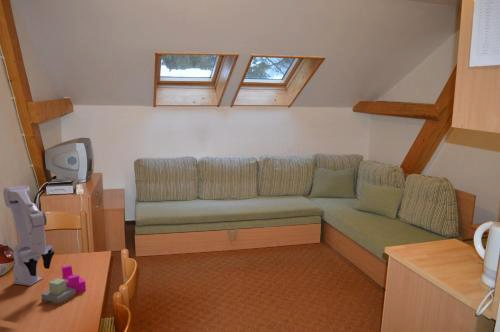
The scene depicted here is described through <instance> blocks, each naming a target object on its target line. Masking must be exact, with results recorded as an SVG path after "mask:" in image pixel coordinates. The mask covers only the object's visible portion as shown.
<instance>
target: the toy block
mask: <svg viewBox="0 0 500 332" xmlns="http://www.w3.org/2000/svg"><path fill="white" fill-rule="evenodd" d="M61 276H62V277H61V279H64V280H66V287H70V288H74V289H75V294H78V293H83V292H86V291H87V289H86V286H87V285H86V280H85V279H84V278H83V277H82V278H81V276H80V275H79V274H77V273H76V274H74V273H73V268H72V265H71V264H69V265H64V266H61Z"/></svg>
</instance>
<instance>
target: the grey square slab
mask: <svg viewBox="0 0 500 332" xmlns="http://www.w3.org/2000/svg"><path fill="white" fill-rule="evenodd" d="M75 296H76V293H75V294H73V295H71V296H70V297H68V298H66V299H64V300H62V301H61V302H59V303H57V302H53V301H49V300H46V299H42V298H41V303H44V304H47V305H49V304H50V305H55V306H61V305H62V304H64V303H66V302H67V301H70V300H71V299H72V298H74V297H75Z"/></svg>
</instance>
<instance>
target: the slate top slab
mask: <svg viewBox="0 0 500 332" xmlns="http://www.w3.org/2000/svg"><path fill="white" fill-rule="evenodd" d="M73 294H75V295H76V293H75V289H74V288H70V287H66V290H65V291H64V292H62V293H60V294H59V295H57V294H53V293H50V291H49V289H48V290H46V291H45V292H42V293H41V299H46V300H49V301H53V302H57V303H59V302H61V301H62V300H64V299H66V298H68V297H70V296H71V295H73Z"/></svg>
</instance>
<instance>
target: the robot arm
mask: <svg viewBox="0 0 500 332" xmlns="http://www.w3.org/2000/svg"><path fill="white" fill-rule="evenodd" d="M2 191H3V192H2V193H3V194H2V195H3V199H4V204H5V207H6V208H9V209H10V210H11V213H12V218H13V223H14V227H15V232H16V235H17V241H18V243H17V244H16V245H15V246H14V247H13V250H12V251H13V252H12V253H13V260H14V263H15V264H14V266H13V279H14V280H13V282H12V283H13V284H16V285H17V284H18V285H22V286H23V285H24V286H29V287H30V286H32V285H34V284H35V283H37V282H40V281H41V280H42V279H43V277H41V276H39V270H38V262H39V260H40V259H41V258H42V263H43V268H44V269H46V270H47V269H50V267H51V262H52V259H53V256H54V255H55V250H54V245H50V244H49V245H47V242H46V229H45V228H46V225H47V222H48V221H47V215H46V214H45V212H44V211H40V210H39V208H38V207H37V205H36V204H35V203H34V202H32V201H31V193H32V192H31V188H30V186H29V185H27V184H25V185H18V186H11V187H4V188H3V190H2Z"/></svg>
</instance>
